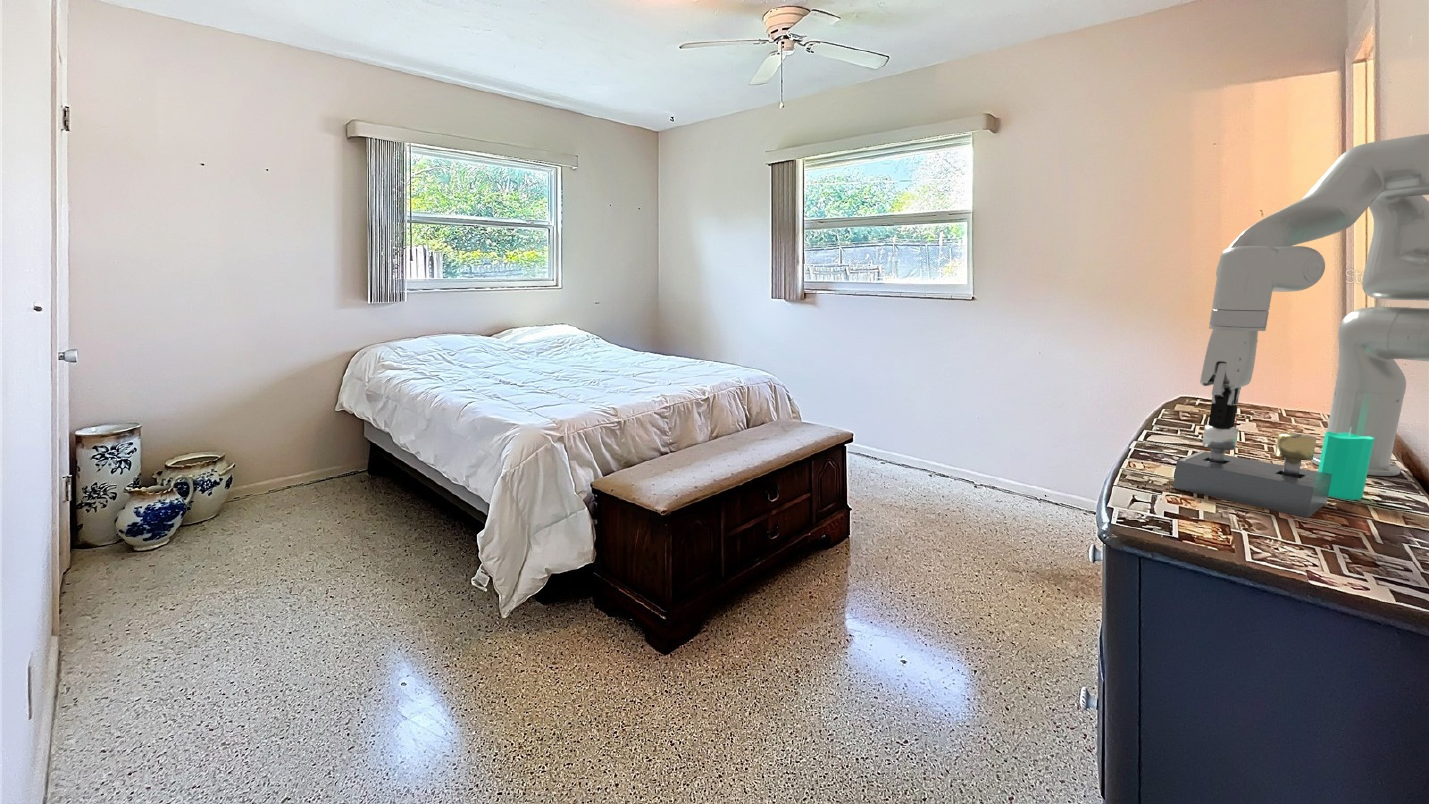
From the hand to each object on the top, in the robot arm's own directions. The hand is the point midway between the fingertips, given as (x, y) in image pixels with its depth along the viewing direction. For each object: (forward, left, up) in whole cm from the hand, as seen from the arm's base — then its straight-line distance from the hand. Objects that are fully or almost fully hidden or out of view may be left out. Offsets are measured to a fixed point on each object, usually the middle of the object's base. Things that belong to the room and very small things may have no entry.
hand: (1220, 426), depth 111 cm
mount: (0, +5, -11) cm, 12 cm away
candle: (-14, +14, -11) cm, 23 cm away
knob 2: (0, +10, -8) cm, 13 cm away
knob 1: (0, 0, -8) cm, 8 cm away
